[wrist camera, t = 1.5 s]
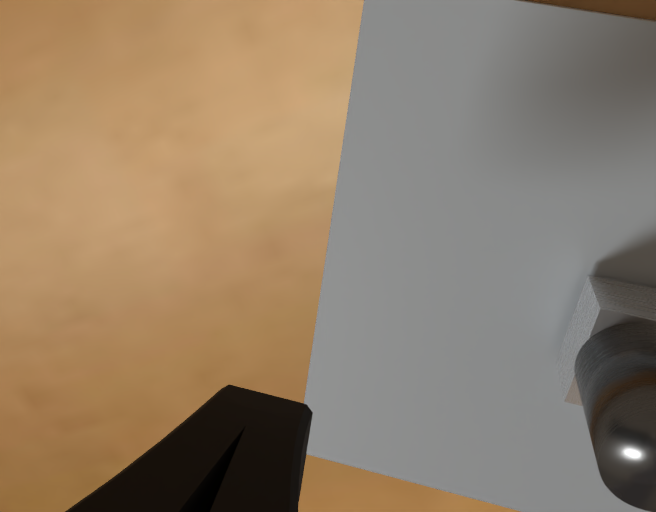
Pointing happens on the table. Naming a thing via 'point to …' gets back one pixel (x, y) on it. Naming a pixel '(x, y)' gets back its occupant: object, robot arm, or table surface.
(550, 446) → the door panel
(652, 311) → the bolt
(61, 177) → the table surface
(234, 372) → the table surface
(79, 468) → the table surface
